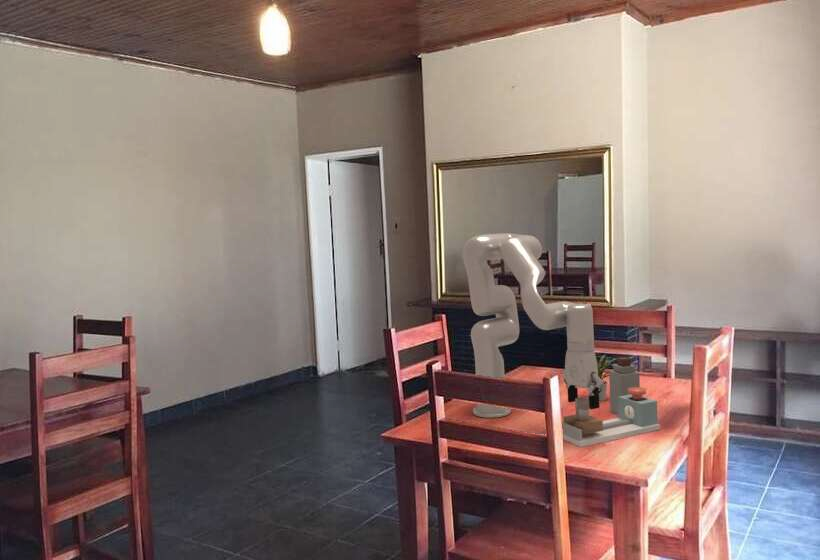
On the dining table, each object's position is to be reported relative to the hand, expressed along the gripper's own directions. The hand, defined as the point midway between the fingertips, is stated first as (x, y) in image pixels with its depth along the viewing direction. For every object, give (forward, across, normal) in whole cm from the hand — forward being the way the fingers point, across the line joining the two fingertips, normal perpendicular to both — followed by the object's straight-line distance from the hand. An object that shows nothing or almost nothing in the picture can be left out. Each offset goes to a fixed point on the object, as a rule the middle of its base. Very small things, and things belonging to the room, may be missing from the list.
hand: (583, 404), depth 197 cm
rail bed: (+10, -1, +9) cm, 13 cm away
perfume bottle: (+10, -14, +27) cm, 32 cm away
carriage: (+7, -1, 0) cm, 7 cm away
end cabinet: (+9, -1, +20) cm, 22 cm away
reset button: (+2, 0, +20) cm, 20 cm away
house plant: (+10, -31, +31) cm, 45 cm away
